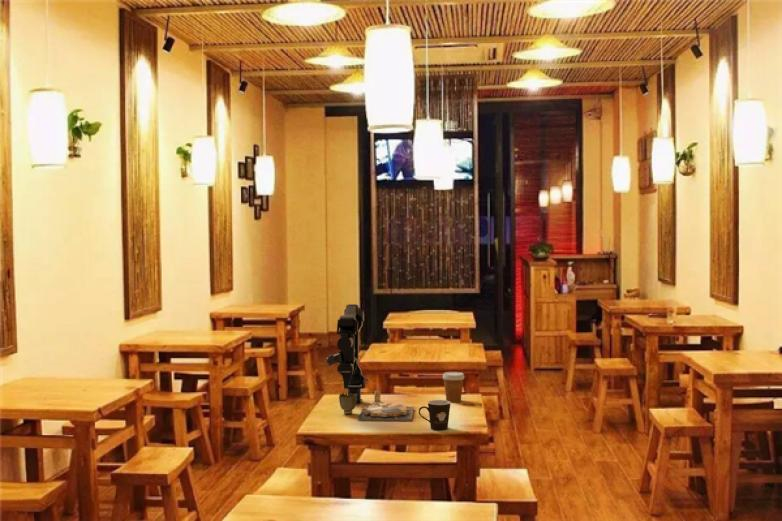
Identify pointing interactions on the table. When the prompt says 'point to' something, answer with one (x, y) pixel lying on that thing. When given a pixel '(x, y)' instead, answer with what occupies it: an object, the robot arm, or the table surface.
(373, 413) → the index wheel
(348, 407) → the cup
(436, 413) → the coffee mug
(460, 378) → the disposable coffee cup
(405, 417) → the base plate
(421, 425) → the table surface
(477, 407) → the table surface
